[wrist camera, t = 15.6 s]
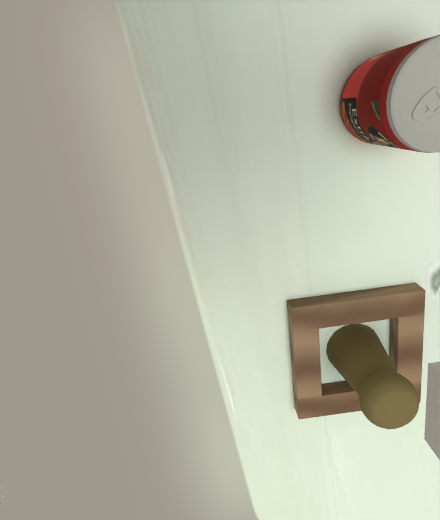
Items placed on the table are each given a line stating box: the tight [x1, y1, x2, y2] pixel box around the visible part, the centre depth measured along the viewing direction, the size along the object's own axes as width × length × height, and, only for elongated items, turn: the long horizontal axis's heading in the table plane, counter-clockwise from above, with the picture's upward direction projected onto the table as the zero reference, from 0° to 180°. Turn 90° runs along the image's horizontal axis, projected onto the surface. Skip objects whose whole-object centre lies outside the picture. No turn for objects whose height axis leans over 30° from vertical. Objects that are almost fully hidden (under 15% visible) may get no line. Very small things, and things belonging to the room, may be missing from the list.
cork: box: [326, 324, 419, 429], centre depth 42 cm, size 6×6×11 cm
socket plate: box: [287, 283, 425, 419], centre depth 47 cm, size 14×14×2 cm
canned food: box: [341, 35, 440, 153], centre depth 34 cm, size 8×8×11 cm
